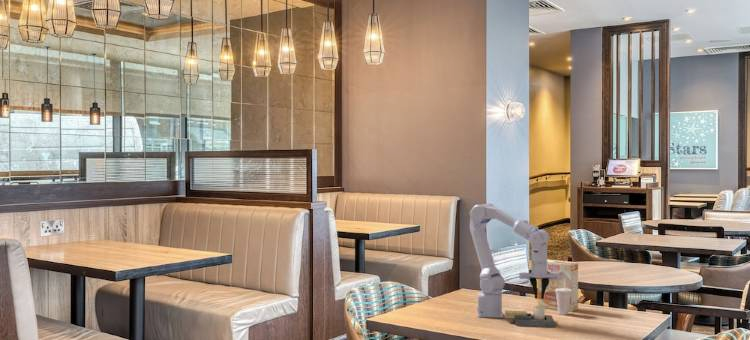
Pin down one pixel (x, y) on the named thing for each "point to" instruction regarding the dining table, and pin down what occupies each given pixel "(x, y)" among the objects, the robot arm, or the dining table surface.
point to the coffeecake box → (560, 284)
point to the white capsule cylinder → (539, 313)
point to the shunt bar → (515, 314)
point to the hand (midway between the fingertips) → (539, 298)
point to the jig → (533, 321)
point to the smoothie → (563, 299)
